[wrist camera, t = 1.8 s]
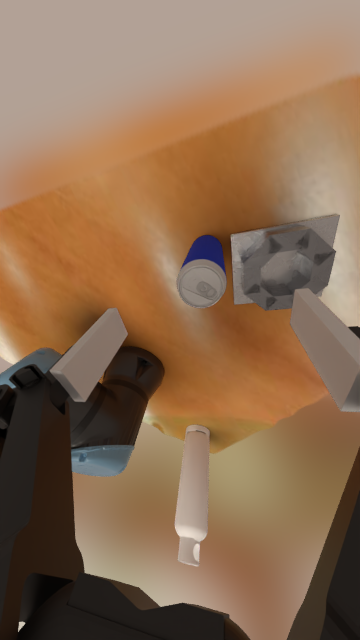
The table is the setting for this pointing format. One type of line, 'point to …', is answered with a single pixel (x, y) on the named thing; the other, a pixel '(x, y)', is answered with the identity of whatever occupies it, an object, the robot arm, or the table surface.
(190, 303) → the beverage can
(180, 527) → the bottle
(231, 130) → the table surface
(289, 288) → the socket
